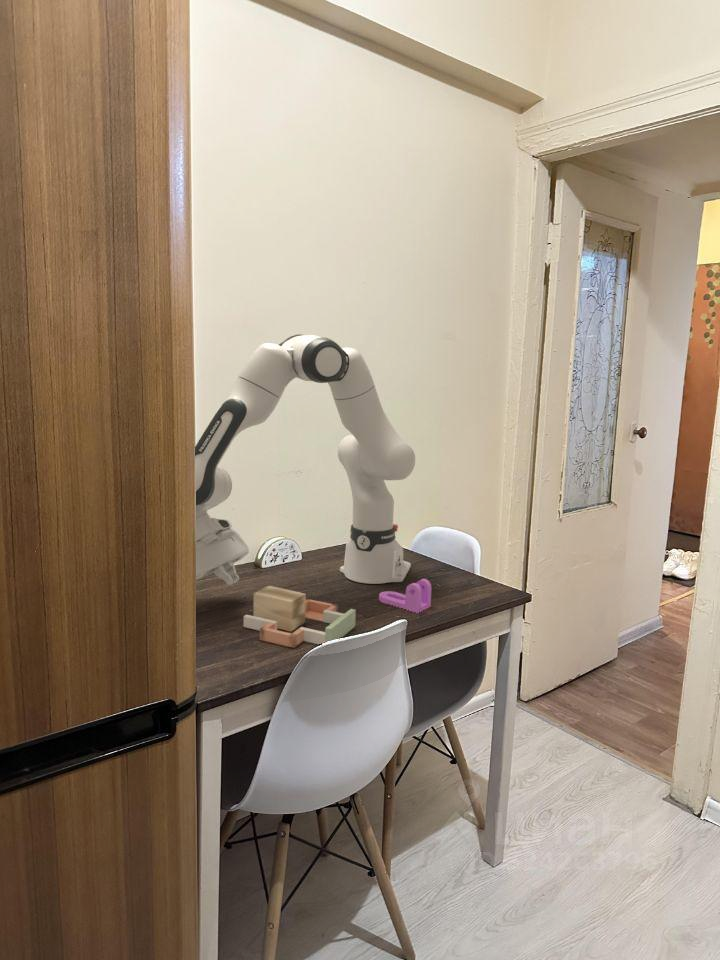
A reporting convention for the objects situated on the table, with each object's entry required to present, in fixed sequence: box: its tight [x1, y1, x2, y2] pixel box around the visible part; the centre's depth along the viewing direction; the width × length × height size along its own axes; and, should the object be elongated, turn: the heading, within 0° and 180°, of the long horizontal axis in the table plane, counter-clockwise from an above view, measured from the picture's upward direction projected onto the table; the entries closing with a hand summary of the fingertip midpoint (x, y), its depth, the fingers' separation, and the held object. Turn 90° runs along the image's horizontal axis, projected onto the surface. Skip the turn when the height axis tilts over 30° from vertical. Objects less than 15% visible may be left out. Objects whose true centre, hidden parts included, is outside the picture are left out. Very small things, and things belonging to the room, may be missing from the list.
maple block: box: [253, 585, 307, 633], centre depth 154 cm, size 6×10×7 cm, turn 63°
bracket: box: [378, 578, 432, 614], centre depth 168 cm, size 13×6×7 cm, turn 51°
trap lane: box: [243, 598, 357, 649], centre depth 152 cm, size 20×22×4 cm
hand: (234, 582), depth 158 cm, fingers closed
